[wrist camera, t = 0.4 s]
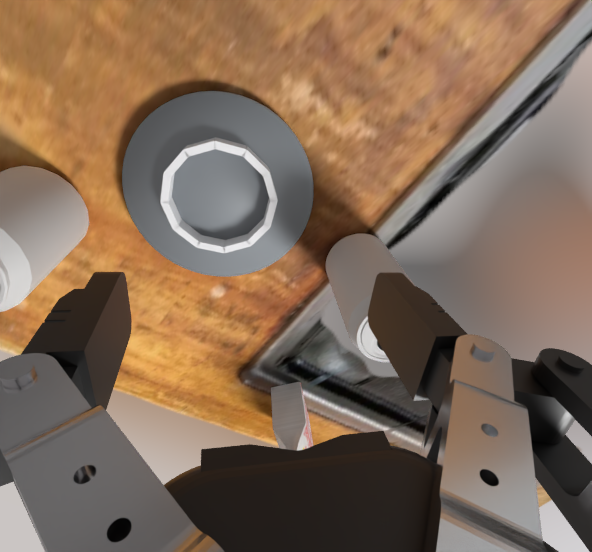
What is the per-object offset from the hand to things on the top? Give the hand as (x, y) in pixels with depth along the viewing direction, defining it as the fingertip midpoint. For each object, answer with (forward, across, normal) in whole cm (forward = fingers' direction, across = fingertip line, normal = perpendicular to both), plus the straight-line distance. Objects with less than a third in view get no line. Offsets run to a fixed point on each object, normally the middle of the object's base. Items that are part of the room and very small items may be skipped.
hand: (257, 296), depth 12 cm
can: (+24, +16, +5) cm, 29 cm away
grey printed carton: (+22, -8, +30) cm, 38 cm away
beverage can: (+21, -12, +9) cm, 26 cm away
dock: (+22, +1, +3) cm, 22 cm away
